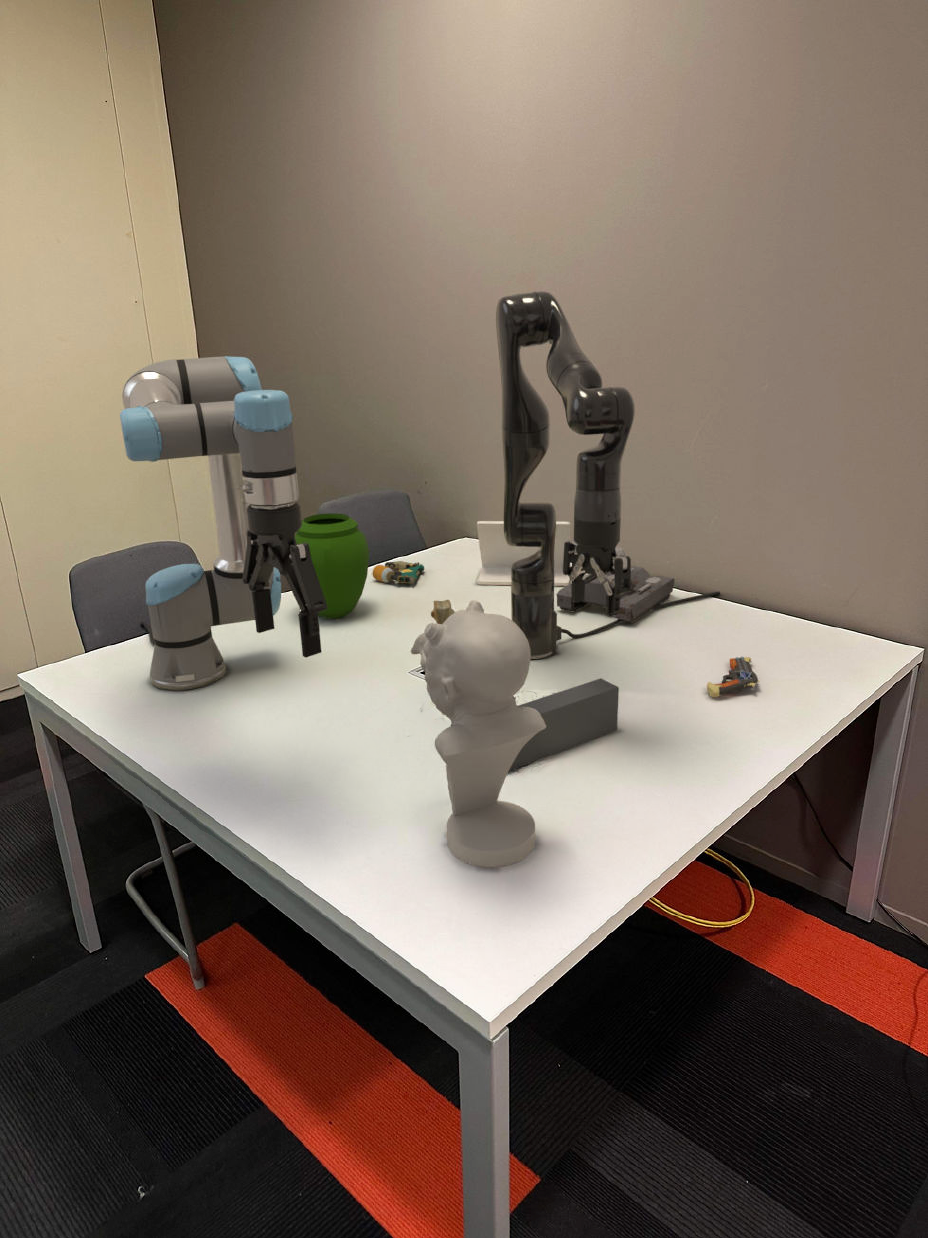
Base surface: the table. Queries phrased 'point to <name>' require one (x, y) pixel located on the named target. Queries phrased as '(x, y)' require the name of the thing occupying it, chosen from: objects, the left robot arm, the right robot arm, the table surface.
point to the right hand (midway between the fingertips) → (594, 608)
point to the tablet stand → (514, 553)
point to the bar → (571, 720)
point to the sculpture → (441, 611)
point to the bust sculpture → (481, 729)
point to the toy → (632, 603)
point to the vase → (336, 560)
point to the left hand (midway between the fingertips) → (288, 642)
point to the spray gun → (398, 572)
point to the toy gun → (735, 678)
